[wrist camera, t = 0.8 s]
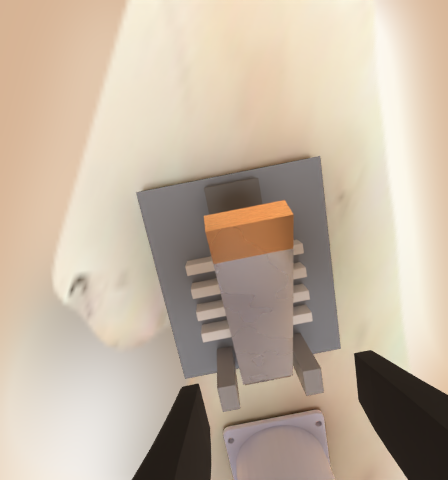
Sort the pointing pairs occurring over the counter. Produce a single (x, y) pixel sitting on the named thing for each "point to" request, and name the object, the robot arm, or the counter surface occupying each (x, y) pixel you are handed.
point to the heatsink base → (204, 277)
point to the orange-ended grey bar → (256, 285)
